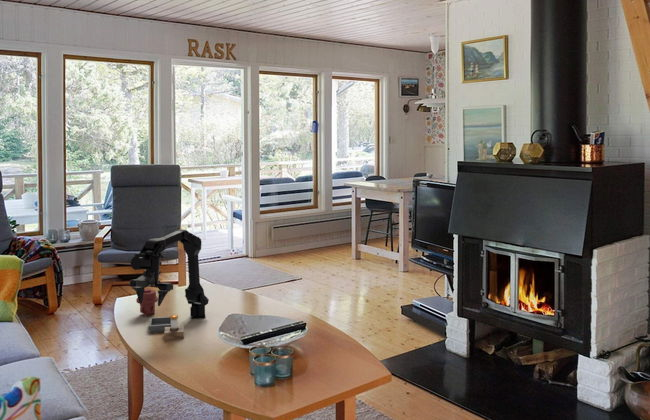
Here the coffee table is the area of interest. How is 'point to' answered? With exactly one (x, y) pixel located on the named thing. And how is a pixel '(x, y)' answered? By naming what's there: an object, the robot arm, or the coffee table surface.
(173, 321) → the lock pin
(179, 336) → the block
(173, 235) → the robot arm
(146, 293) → the mechanical component
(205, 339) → the coffee table surface
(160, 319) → the tray
